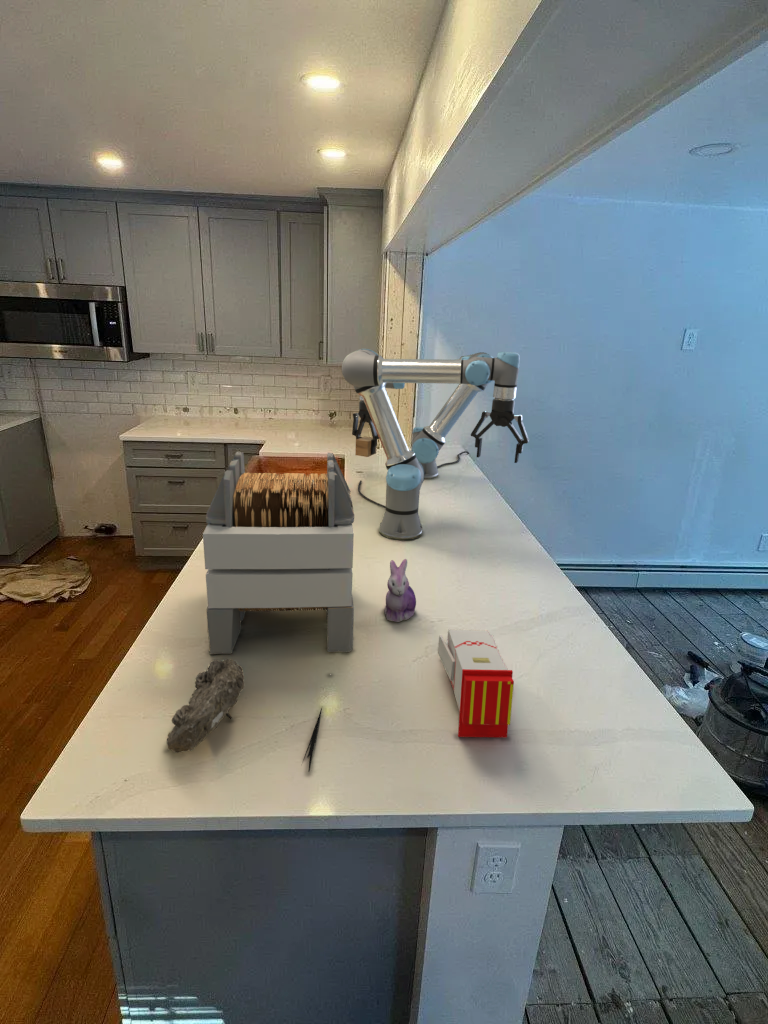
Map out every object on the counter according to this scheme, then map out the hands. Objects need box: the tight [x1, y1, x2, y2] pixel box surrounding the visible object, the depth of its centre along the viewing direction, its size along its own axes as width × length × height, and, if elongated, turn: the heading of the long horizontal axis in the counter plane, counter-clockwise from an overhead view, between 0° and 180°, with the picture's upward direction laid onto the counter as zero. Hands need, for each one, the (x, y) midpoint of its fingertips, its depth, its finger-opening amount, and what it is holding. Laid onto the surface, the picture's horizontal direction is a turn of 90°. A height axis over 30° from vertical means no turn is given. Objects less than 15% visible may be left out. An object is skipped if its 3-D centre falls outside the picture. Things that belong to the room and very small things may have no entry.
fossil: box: [166, 658, 245, 754], centre depth 106 cm, size 22×10×15 cm
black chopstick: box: [301, 673, 332, 771], centre depth 108 cm, size 2×28×2 cm
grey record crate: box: [202, 451, 355, 655], centre depth 137 cm, size 34×33×41 cm
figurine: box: [384, 558, 417, 623], centre depth 145 cm, size 9×10×15 cm
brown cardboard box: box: [355, 436, 378, 458], centre depth 255 cm, size 9×6×7 cm
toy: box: [437, 628, 515, 738], centre depth 117 cm, size 12×13×30 cm
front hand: (497, 459), depth 201 cm, fingers open, 13 cm apart
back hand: (366, 452), depth 256 cm, fingers closed on brown cardboard box, 6 cm apart
